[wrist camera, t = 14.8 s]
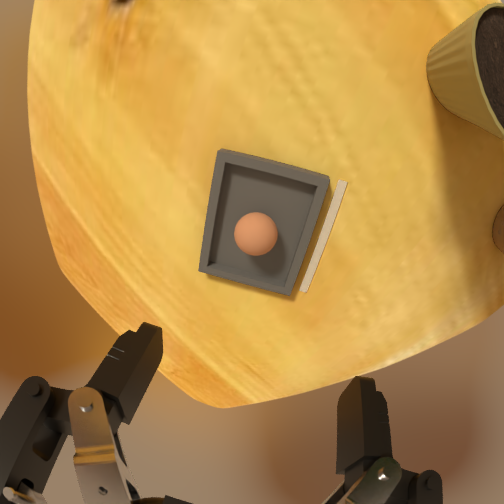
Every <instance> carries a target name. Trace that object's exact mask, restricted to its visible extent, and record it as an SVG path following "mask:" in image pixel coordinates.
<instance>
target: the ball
mask: <svg viewBox="0 0 504 504" xmlns="http://www.w3.org/2000/svg"><path fill="white" fill-rule="evenodd" d="M234 237H235V241H236V244H237V245H238V247H239V248H240V249H241V250H242V251H243V252H245V253H246V254H249V255H253V256H259V255H263V254H266V253H267V252H269V251H270V250H271V249H272V248H273V247H274V245H275V244H276V241H277V237H278V231H277V227H276V224H275V223H274V221H273V220H272V219H271V218H270V217H269V216H267V215H266V214H263V213H259V212H253V213H249V214H246V215H245V216H243V217H242V218H241V219H240V220H239V221H238V223H237V224H236V227H235V231H234Z"/></svg>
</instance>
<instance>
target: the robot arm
mask: <svg viewBox="0 0 504 504" xmlns="http://www.w3.org/2000/svg"><path fill="white" fill-rule="evenodd" d="M493 239H494V243H495V244H496V246H497V247H498V248H499V249H500V250H501V251H502V252H503V253H504V206H503V207H502V208H501V209H500V211H499V212H498V214H497V216H496V219H495V222H494V226H493ZM162 355H163V339H162V328H161V327H158V326H155V325H152V324H149V323H146V322H143V323H142V324H141V326H140V327H139V329H138V330H137V332H133V331H131V330H128V331H127V332H125V333H124V334H122V335H121V336H119V338H118V339H117V340H116V342H115V343H114V345H113V347H112V348H111V350H110V351H109V352H108V355H107V356H106V357H105V358H104V360H103V361H102V363H101V364H100V366H99V367H98V369H97V370H96V372H95V373H94V375H93V377H92V378H91V380H90V381H89V382H88V384H87V385H85V386H84V387H81V388H77V389H76V390H65V389H60V388H55V387H50V386H49V384H48V382H47V381H46V380H45V379H43V378H42V377H38V376H32V377H29V378H27V379H26V380H25V381H24V382H23V383H22V385H21V386H20V388H19V390H18V391H17V393H16V394H15V396H14V397H13V399H12V401H11V402H10V404H9V406H8V407H7V409H6V411H5V413H4V415H3V416H2V418H1V420H0V504H47V502H46V500H45V498H44V497H43V495H42V492H43V490H44V488H45V485H46V483H47V480H48V478H49V475H50V473H51V471H52V468H53V466H54V464H55V461H56V459H57V457H58V455H59V453H60V450H61V448H62V446H63V444H64V442H65V440H66V438H67V436H68V435H72V436H73V440H74V445H75V450H76V453H75V455H74V457H73V460H74V466H75V471H76V474H77V478H78V482H79V485H80V489H81V493H82V496H83V499H84V502H85V504H192V503H189V502H185V501H182V500H179V499H176V498H173V497H170V496H167V495H166V496H165V498H159V497H158V498H157V497H151V498H141V495H140V492H139V490H138V487H137V485H136V482H135V480H134V478H133V475H132V473H131V471H130V469H129V466H128V463H127V460H126V457H125V454H124V450H123V447H122V444H121V440H120V437H119V433H118V428H119V426H120V424H121V422H124V423H126V424H128V425H129V424H130V422H131V420H132V418H133V416H134V414H135V412H136V410H137V408H138V406H139V404H140V402H141V400H142V398H143V396H144V394H145V392H146V390H147V388H148V386H149V384H150V382H151V380H152V378H153V376H154V374H155V372H156V370H157V368H158V366H159V364H160V362H161V359H162ZM387 414H388V409H387V402H386V400H385V398H384V396H383V394H382V392H379V391H376V387H375V381H374V379H373V378H368V377H361V376H355V377H354V378H353V380H352V381H351V383H350V384H349V385H348V386H347V388H346V389H345V390H344V392H343V393H342V394H341V396H340V398H339V401H338V406H337V461H336V474H345V480H344V481H343V482H342V483H341V484H340V485H339V486H338V487H337V488H336V490H334V492H332V493H331V495H330V496H329V497H328V498H327V499H326V500H325V501H324V502H323V503H322V504H443V497H442V496H443V494H442V480H441V477H440V475H439V474H438V473H437V472H436V471H434V470H427V471H424V472H422V473H421V474H418V473H414V472H411V471H407V470H404V469H402V468H401V467H400V464H399V463H398V462H397V461H396V460H394V459H393V456H392V447H391V436H390V426H389V417H388V415H387Z"/></svg>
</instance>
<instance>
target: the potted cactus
mask: <svg viewBox="0 0 504 504" xmlns="http://www.w3.org/2000/svg"><path fill="white" fill-rule="evenodd" d="M426 70H427V77H428V81H429V84H430V87H431V89H432V91H433V93H434V95H435V96H436V98H437V99H438V101H439V102H440V103H441V104H442V105H443V106H444V107H445V108H446V109H447V110H448V111H450V112H451V113H452V114H455V115H457V116H458V117H460V118H462V119H465V120H467V121H469V122H471V123H473V124H475V125H477V126H479V127H481V128H482V129H484V130H486V131H488V132H490V133H492V134H493V135H495V136H497V137H499V138H500V139H502V140H504V4H502V3H493V4H488V5H486V6H485V7H484V8H482V9H480V10H479V11H478V12H476V13H475V14H473V15H472V16H471V17H469V18H468V19H467V20H466V21H464V22H463V23H462V24H460V25H459V26H458V27H457V28H455V29H454V30H453V31H451V32H450V33H449V34H448V35H446V36H445V37H444V38H443V39H441V40H440V41H439V42H437V43H436V44H435V45H434V46H433V47H432V49H431V50H430V52H429V54H428V57H427V63H426Z"/></svg>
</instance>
